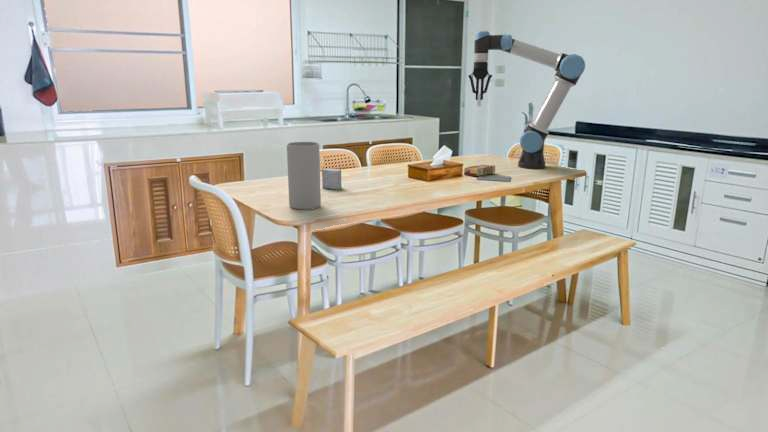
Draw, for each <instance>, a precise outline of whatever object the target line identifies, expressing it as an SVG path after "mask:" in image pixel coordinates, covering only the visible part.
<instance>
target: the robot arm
mask: <svg viewBox="0 0 768 432" xmlns="http://www.w3.org/2000/svg"><path fill="white" fill-rule="evenodd" d="M492 50H493V51H501V52H506V53H509V54H510V55H511V54H512V55H513V56H514V55H515V56H517V57H520V58H523V59H526V60H529V61H532V62H535V63H538V64H541V65H544V66H547V67H550V68H552V69H554V71H555V72H556V73H555V74H554V78H555V79H554V82H553V84H552V86H551V87H550V90H549V91H548V93H547V95H546V97H545V99H544V101H543V102H542V105H541V107H540V108H539V110H538V112H537V114H536V115H535V117H534V120H533V121H531V122H530V123H528V124H527V125H525V126H524V128H523V134H522V135H521V136H520V138H519V145H520V147H521V149H522V150H521V155H520V158H519V160H518V163H517V166H518V167H519V168H524V169H532V170H533V169H534V170H538V169H544V168H546V159H545V156H544V151H545V150H544V149H545V141H546V139H547V137H548V135H549V133H550V132H549V127H550V125H551V123H552V122H553V120H554V118H555V116H556V115H557V114H558V112H559V110H560V108H561V106H562V104H563V102H564V101H565V99H566V97H567V95H568V93H569V91H570V89H572V87H575V86H576V85H577V83H578V82H579V79H581V76H582V75H583V74H584V72H585V69H586V61H585V60H584V58H583V56H581V55H579V54H576V53H575V54H574V53H572V54H571V53H570V54H567V53H564V52H561V53H557V52H554V51H551V50H548V49H545V48H543V47H538V46H535V45H533V44H529V43H527V42H524V41H520V40H518V39H515V38H513V36H512V35H511V34H496V35H495V34H493V35H491V34H490V32H489V30H488V31H486V30H485V31H484V30H483V31H482V30H481V31H480V30H479V31H476V32H475V34H474V53H473V61H474V62H473V71H472V73H471V74H469V75H468V79H469V81H470V85H471V91H472V93H473V94H475V100H476V101H477V104H476V105H477V107H481V106H482V103H481V102H482V101H483V100H484V94H486V93H487V92H488V89H489V85H490V81H491V78H493V75H492V74H490V73H489V69H488V67H489V66H488V65H489V62H488V61H489V51H492ZM486 77H487V80H486V83H485V78H486ZM474 79H476V80H475V81H476V82H474ZM484 83H485V84H484ZM484 85H485V87H484ZM479 89H480V91H479ZM479 92H480V93H479Z"/></svg>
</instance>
